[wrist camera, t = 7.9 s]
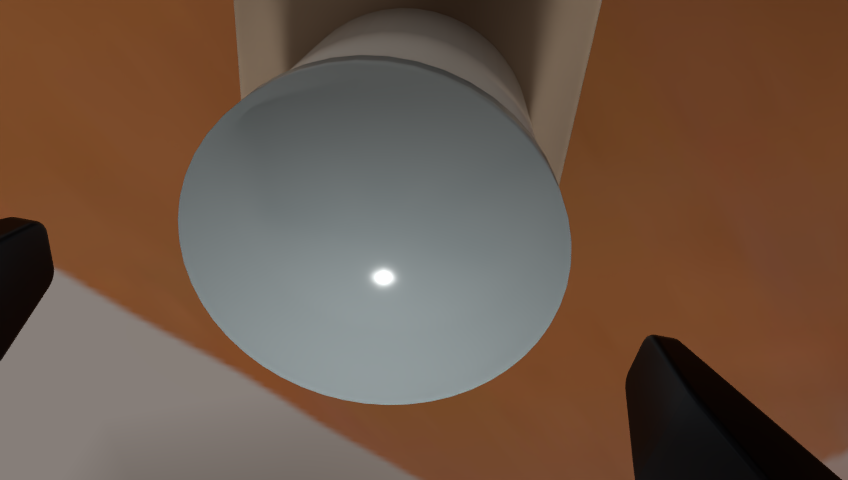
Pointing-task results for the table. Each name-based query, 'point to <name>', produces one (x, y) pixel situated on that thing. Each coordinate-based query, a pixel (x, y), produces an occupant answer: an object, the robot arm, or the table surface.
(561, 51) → the beige box
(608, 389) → the table surface
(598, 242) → the table surface
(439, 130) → the beaker
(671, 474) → the robot arm
